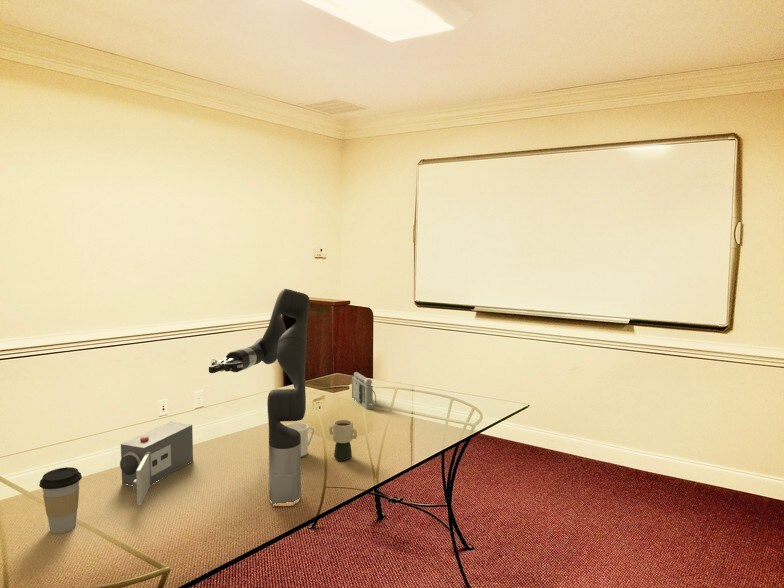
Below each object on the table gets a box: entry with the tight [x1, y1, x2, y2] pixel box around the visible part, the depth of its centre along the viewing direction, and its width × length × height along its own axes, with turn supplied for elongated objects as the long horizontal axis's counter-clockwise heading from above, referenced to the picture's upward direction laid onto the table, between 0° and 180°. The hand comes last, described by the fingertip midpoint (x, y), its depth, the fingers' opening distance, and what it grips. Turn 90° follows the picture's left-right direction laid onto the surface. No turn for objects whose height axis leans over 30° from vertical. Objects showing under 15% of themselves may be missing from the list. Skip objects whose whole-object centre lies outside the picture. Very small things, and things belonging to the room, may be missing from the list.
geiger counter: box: [351, 371, 377, 410], centre depth 248 cm, size 14×6×25 cm
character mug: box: [329, 419, 358, 461], centre depth 185 cm, size 11×7×13 cm, turn 65°
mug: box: [285, 422, 315, 459], centre depth 188 cm, size 11×9×10 cm
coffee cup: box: [38, 466, 83, 535], centre depth 137 cm, size 9×9×15 cm
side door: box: [132, 452, 153, 506], centre depth 154 cm, size 13×2×10 cm, turn 14°
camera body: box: [119, 421, 194, 486], centre depth 171 cm, size 24×10×14 cm, turn 162°
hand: (210, 370), depth 171 cm, fingers closed
